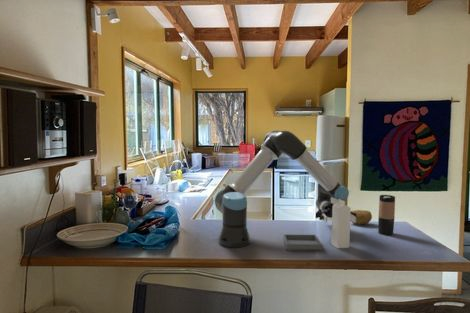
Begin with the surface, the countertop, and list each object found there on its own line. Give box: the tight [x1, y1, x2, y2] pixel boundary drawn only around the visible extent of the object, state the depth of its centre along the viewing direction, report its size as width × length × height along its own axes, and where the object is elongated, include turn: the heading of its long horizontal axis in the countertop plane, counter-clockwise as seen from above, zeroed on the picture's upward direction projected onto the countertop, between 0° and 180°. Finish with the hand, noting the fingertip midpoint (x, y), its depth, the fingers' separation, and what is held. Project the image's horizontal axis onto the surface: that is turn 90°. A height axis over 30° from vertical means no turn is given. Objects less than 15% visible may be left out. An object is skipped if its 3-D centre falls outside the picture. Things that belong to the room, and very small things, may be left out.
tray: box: [282, 233, 324, 252], centre depth 152 cm, size 16×14×3 cm
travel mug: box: [377, 194, 396, 236], centre depth 170 cm, size 8×8×20 cm
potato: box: [350, 209, 373, 225], centre depth 188 cm, size 10×14×8 cm
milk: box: [330, 199, 352, 249], centre depth 151 cm, size 6×6×22 cm
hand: (340, 220), depth 153 cm, fingers open, 13 cm apart
